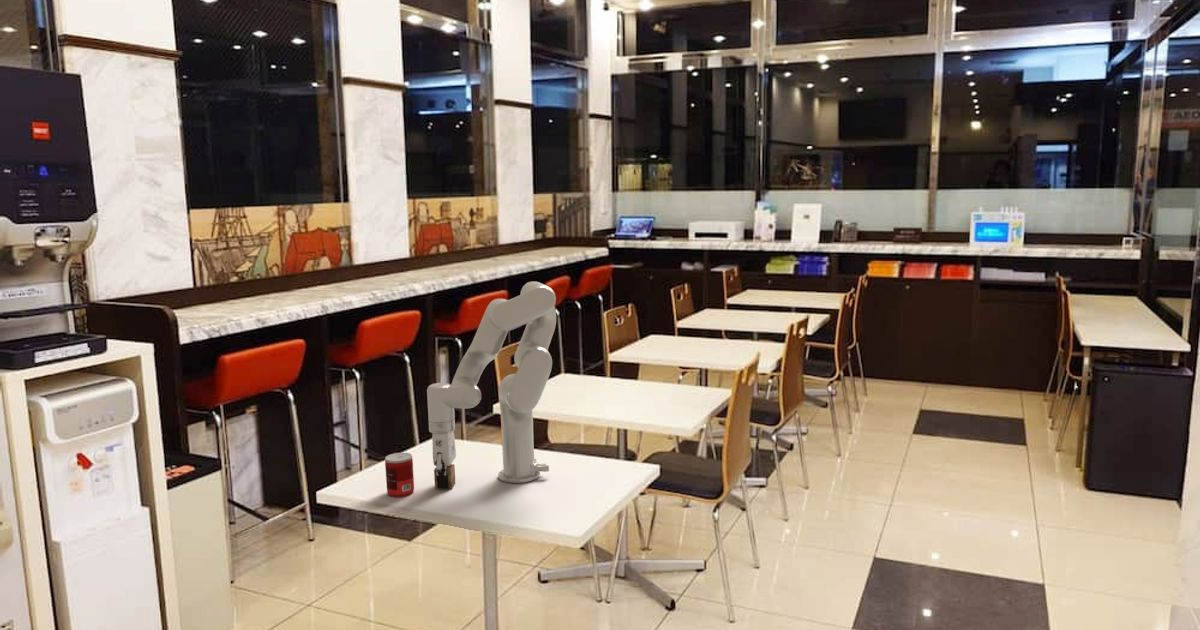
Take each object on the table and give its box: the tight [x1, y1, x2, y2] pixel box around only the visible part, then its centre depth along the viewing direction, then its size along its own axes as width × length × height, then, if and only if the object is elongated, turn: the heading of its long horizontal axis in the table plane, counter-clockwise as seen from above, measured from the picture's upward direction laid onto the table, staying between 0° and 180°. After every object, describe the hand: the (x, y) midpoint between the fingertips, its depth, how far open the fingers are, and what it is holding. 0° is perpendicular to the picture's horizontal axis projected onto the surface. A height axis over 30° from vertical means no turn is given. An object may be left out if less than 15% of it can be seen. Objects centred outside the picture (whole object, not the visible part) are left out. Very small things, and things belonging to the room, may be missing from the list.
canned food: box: [384, 452, 415, 498], centre depth 250 cm, size 8×8×11 cm
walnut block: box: [433, 463, 456, 490], centre depth 255 cm, size 5×5×6 cm
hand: (445, 484), depth 255 cm, fingers closed on walnut block, 5 cm apart
